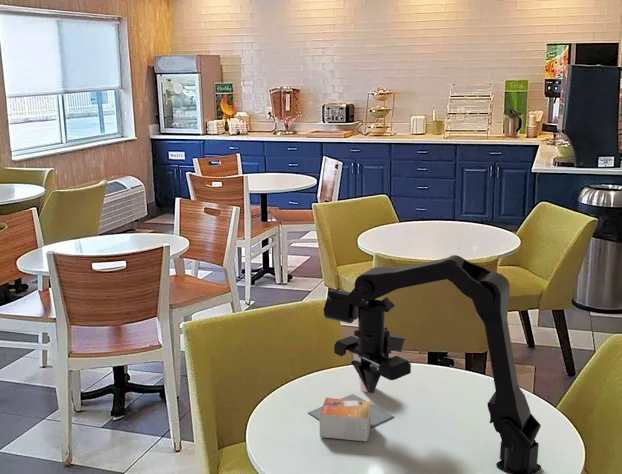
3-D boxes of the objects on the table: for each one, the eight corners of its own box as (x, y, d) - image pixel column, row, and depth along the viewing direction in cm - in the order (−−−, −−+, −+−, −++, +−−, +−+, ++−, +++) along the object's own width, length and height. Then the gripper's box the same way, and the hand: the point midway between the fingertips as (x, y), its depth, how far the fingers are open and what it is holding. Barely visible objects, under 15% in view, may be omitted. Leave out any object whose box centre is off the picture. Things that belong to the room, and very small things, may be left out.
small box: (367, 418, 147) (319, 414, 149) (367, 442, 148) (319, 437, 150) (371, 400, 154) (325, 396, 156) (371, 423, 156) (325, 418, 158)
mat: (393, 417, 159) (393, 416, 159) (348, 438, 150) (348, 437, 150) (352, 394, 169) (352, 393, 169) (308, 413, 161) (308, 412, 161)
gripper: (429, 329, 147) (427, 396, 151) (368, 306, 161) (368, 368, 165) (392, 343, 140) (391, 413, 144) (332, 317, 154) (332, 382, 158)
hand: (370, 392), depth 153 cm, fingers closed
